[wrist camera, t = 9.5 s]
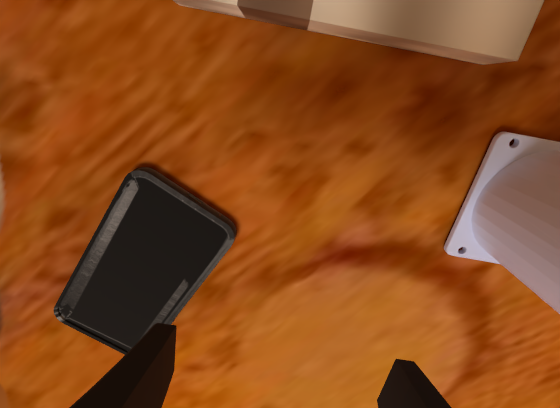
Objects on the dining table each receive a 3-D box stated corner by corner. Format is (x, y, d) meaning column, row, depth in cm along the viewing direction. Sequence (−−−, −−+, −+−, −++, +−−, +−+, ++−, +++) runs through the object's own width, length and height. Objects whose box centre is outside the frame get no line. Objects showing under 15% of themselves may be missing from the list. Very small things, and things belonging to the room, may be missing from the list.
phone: (49, 316, 22) (132, 162, 17) (60, 305, 23) (141, 158, 18) (141, 363, 24) (242, 234, 19) (148, 351, 25) (245, 226, 20)
